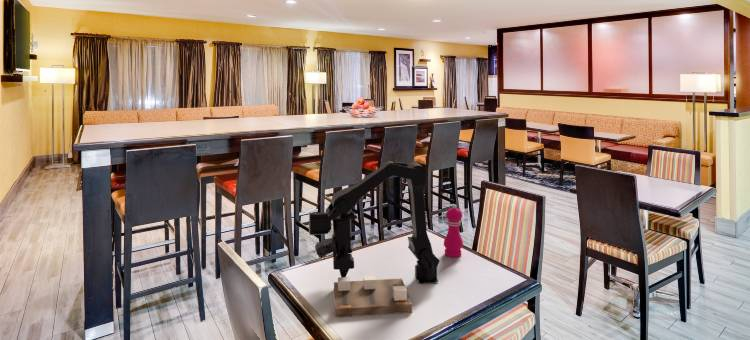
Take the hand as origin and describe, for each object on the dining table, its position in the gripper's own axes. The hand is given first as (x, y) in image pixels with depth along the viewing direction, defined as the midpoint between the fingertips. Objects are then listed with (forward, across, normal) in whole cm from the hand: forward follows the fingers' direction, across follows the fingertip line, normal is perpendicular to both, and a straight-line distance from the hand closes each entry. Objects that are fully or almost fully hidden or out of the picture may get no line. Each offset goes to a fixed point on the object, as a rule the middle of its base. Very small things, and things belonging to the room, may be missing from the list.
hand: (343, 278), depth 141 cm
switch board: (+3, +9, +8) cm, 13 cm away
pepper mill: (+4, -23, +43) cm, 49 cm away
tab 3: (0, +14, +16) cm, 21 cm away
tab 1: (0, +6, 0) cm, 6 cm away
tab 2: (0, +6, +8) cm, 10 cm away
